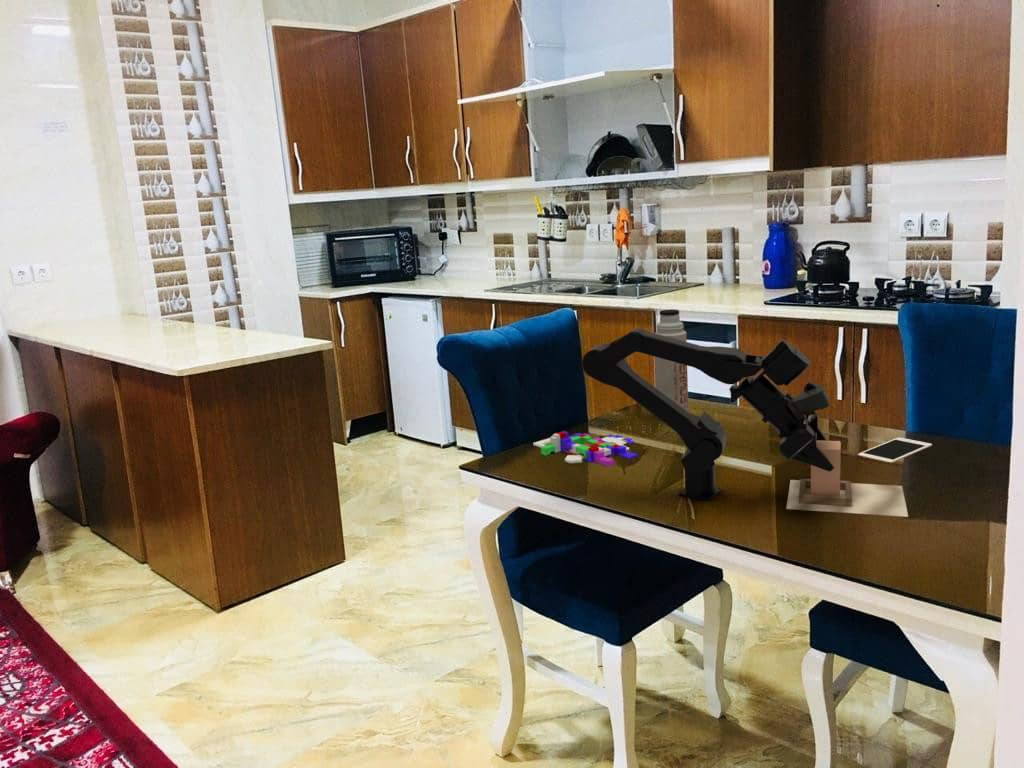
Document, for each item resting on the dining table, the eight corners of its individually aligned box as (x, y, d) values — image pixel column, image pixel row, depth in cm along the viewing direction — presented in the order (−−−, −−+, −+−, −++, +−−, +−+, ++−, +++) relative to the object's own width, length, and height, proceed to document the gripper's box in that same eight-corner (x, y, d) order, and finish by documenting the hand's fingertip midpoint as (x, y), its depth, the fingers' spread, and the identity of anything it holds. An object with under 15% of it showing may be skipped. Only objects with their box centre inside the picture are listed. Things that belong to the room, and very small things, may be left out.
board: (786, 513, 151) (786, 500, 151) (790, 484, 165) (790, 472, 164) (908, 522, 144) (908, 508, 144) (901, 490, 158) (902, 478, 157)
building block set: (659, 451, 192) (659, 433, 191) (592, 474, 181) (591, 454, 180) (588, 430, 212) (587, 413, 211) (523, 450, 201) (522, 432, 200)
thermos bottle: (694, 417, 214) (692, 309, 208) (668, 423, 211) (665, 314, 205) (676, 411, 222) (673, 306, 215) (651, 416, 219) (647, 310, 212)
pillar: (810, 500, 154) (811, 448, 152) (811, 490, 159) (811, 440, 156) (839, 501, 152) (840, 449, 150) (839, 491, 157) (840, 441, 155)
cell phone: (932, 446, 181) (932, 443, 181) (891, 464, 173) (891, 461, 172) (898, 439, 188) (898, 437, 188) (856, 456, 179) (856, 454, 179)
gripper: (800, 385, 143) (868, 449, 142) (804, 361, 160) (865, 418, 159) (752, 427, 148) (818, 489, 146) (761, 400, 165) (820, 455, 163)
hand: (832, 461), depth 154 cm, fingers open, 9 cm apart
